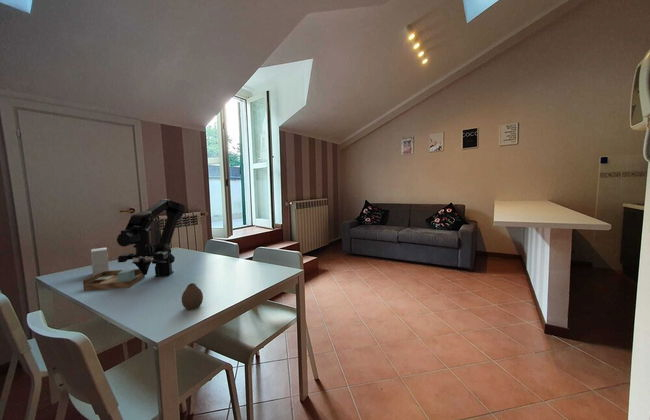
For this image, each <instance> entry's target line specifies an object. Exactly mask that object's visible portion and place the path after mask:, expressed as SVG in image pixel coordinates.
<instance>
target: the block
mask: <svg viewBox="0 0 650 420" xmlns="http://www.w3.org/2000/svg"><path fill="white" fill-rule="evenodd" d="M134 269H135V268H133V269H131V270H129V269H121V270H122V271H121V272H119V273H117V274H118V282H123V281H130V280H132V279H134V278H135V273H134Z"/></svg>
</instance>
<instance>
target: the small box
mask: <svg viewBox="0 0 650 420" xmlns="http://www.w3.org/2000/svg"><path fill="white" fill-rule="evenodd" d="M90 257H91V266H92V267H91V269H92V276H94V275H96V274H98V273H100V272H102V271H110V269H109V268H110V266H109V256H108V247H100V248H91V251H90Z"/></svg>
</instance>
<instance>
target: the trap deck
mask: <svg viewBox="0 0 650 420" xmlns="http://www.w3.org/2000/svg"><path fill="white" fill-rule="evenodd" d="M133 269H134V273H135V278H134V279H132V280H130V281H123V282H118V274H117V273H119V272H121V271H122V270H123V269H116V270H115V269H114V270H109V271H102V272H100V273H98V274H96V275H94V276H93V275H91V276H89V277H87V278H85V279H83V280H82V284H83V291H94V290H95V291H97V290H98V291H99V290H109V289H124V288H131V287H132V286H134V285H136V284H138V283H139V282H140V281H142V280H143V279H145V277H146V275H143V274H142V272H141V271H140V269H139V268H133ZM128 270H131V269H130V268H129V269H128Z"/></svg>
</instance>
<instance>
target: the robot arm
mask: <svg viewBox="0 0 650 420" xmlns="http://www.w3.org/2000/svg"><path fill="white" fill-rule="evenodd" d="M164 211H165V215H166V217H167V218H166V221H165V223H164V226H163V228H162V231H161V233H160V234H161V235H160V238H159V241H158V243H156V244H153V243H152V241H151V236H150V231H153V230H154V229H153V228H152V226H151V225H152V224H153V222H154V219H155V218H156V217H158V216H159V215H160V214H162V213H164ZM185 211H186V207H185V206H184V204H183V203H180V202H176V201H173V200H172V199H160V200H159V201H158V202H157V203H155V204H153V206H151V207H149V208H148V209H146V210H144V211H140V212H136V213H134V214H132V215H131V216H130V219H129V220H128V223H127V225H126V226H125V228H124V229H122V230H120V233H119V234H118V235H117V237H116V242H117V244H118V245H119V246H120V247H123V248H124V247H128V246H131V245H133V248H134V249H135V250H134V251H135V253H134V252H131V253H130V252H129V253H127V252H126V253H122V254H121V255H119V256H118V257H117V263H126V262H127V261H128V260H132V262H131V263H132V264H134V265H135V266H136V267H137V269H140V271H141V272H142V274H143V275H145V276H147V275H148V272H149V268H150V266H151V263H152V264H153V265H154V264H155V266H154V274H155V275H154V277H155V278H157V277H169V276H171V275H172V274H174V272H175V271H174V270H173V265H172V264H173V263H174V262H175V259H176V257H175V256H174V255H173V254H172V248H171V246H170V245H171V243H172V238H173V236H174V232H175V230H176V226H177V224H178V220H180V219H181V218H182V217H183V215H184V213H185ZM150 226H151V227H150Z"/></svg>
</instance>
